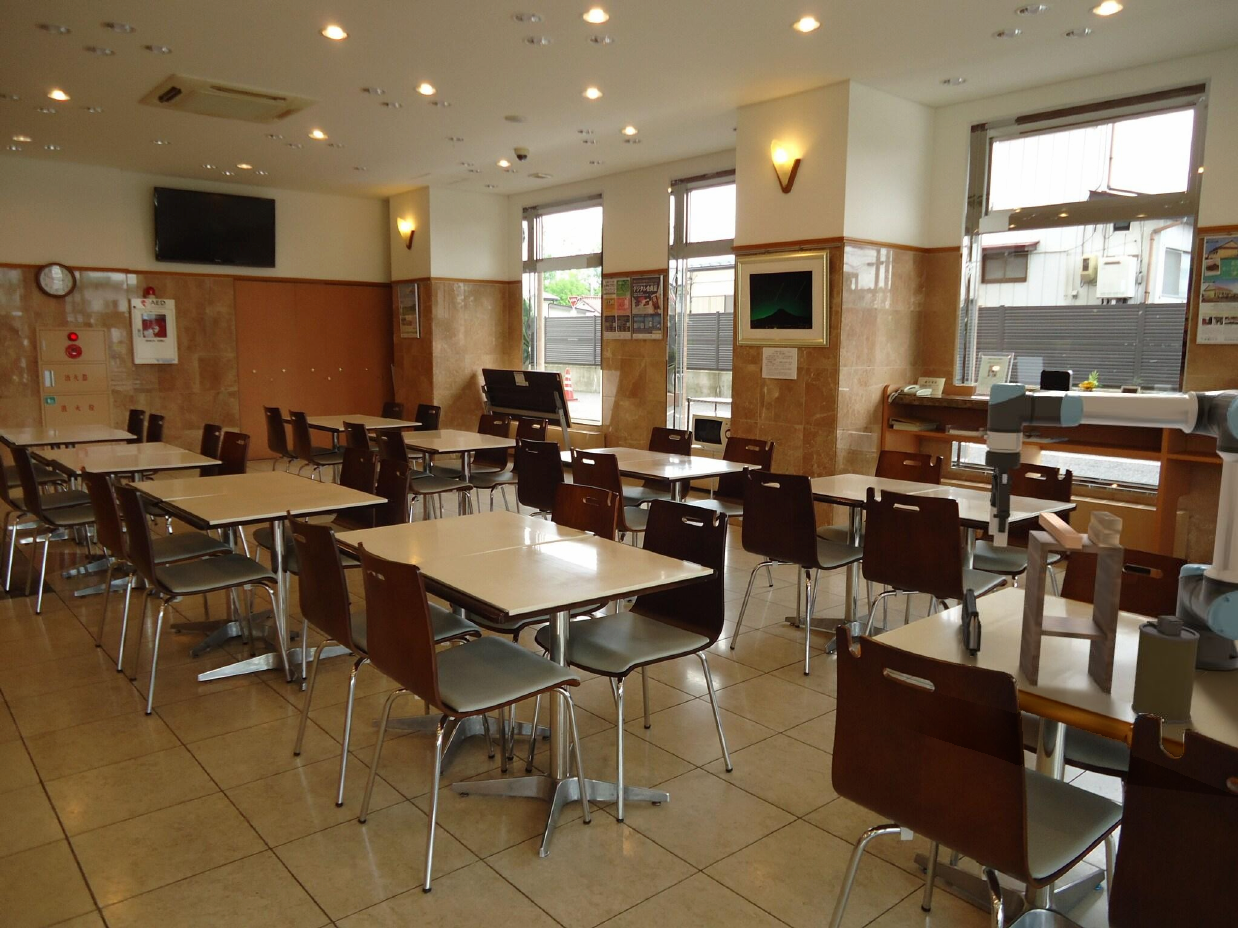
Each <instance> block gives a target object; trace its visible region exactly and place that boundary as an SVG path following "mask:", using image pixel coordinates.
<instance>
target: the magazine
mask: <svg viewBox="0 0 1238 928" xmlns="http://www.w3.org/2000/svg"><path fill="white" fill-rule="evenodd" d="M977 609H978V608H977V597H976V595H975V590H974V589H972V588H967V589H966V592H965V593H964V595H963V596H962V603H961V617H960V618H961V629H962V630H961V632H962V633H961V634H962V642H963V646H964V650H965V651H967V652H968V653H969V657H970V656H974V657H975V654H976V653H980V652H981V646H982V645H981V643H982V623H981V620H980V617H979V616H980V612H979V611H978V610H977Z"/></svg>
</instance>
